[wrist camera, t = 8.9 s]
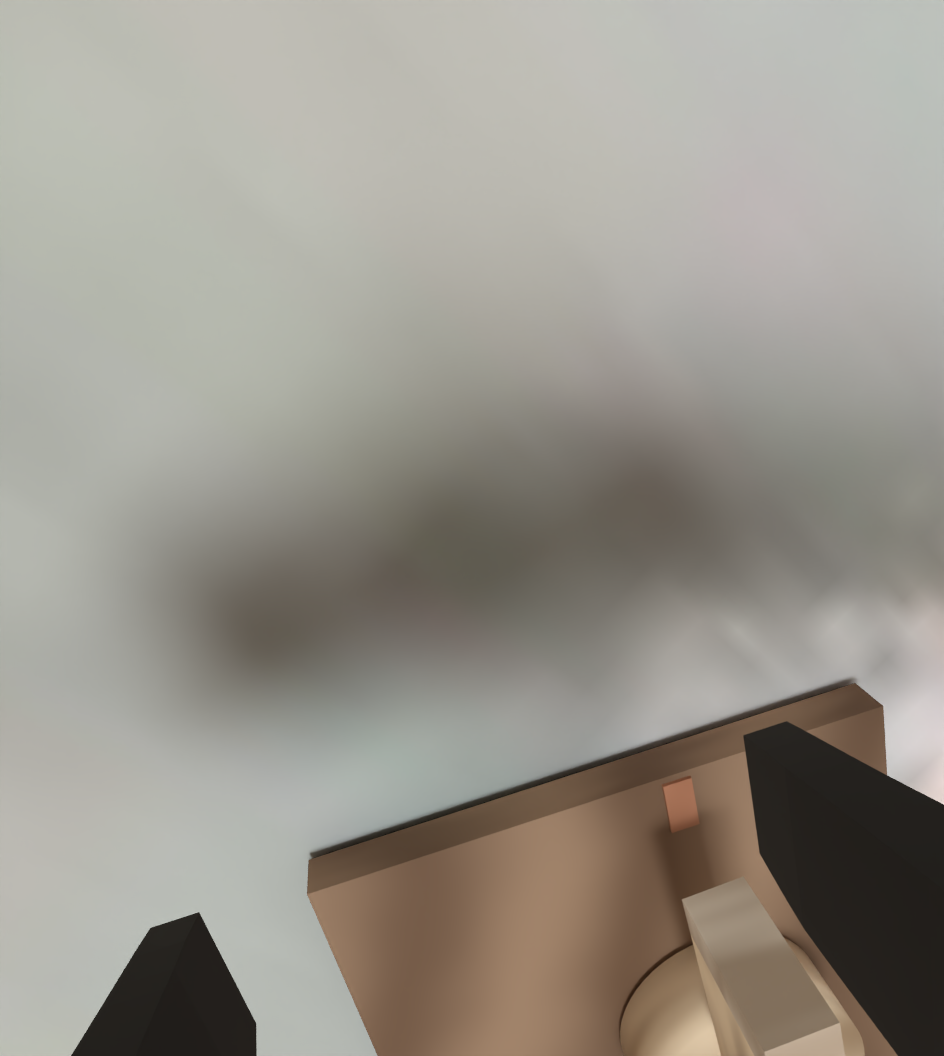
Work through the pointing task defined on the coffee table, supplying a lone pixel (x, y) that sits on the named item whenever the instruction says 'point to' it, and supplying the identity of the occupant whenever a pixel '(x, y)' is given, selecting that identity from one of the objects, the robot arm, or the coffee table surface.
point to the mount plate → (564, 895)
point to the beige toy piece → (736, 990)
